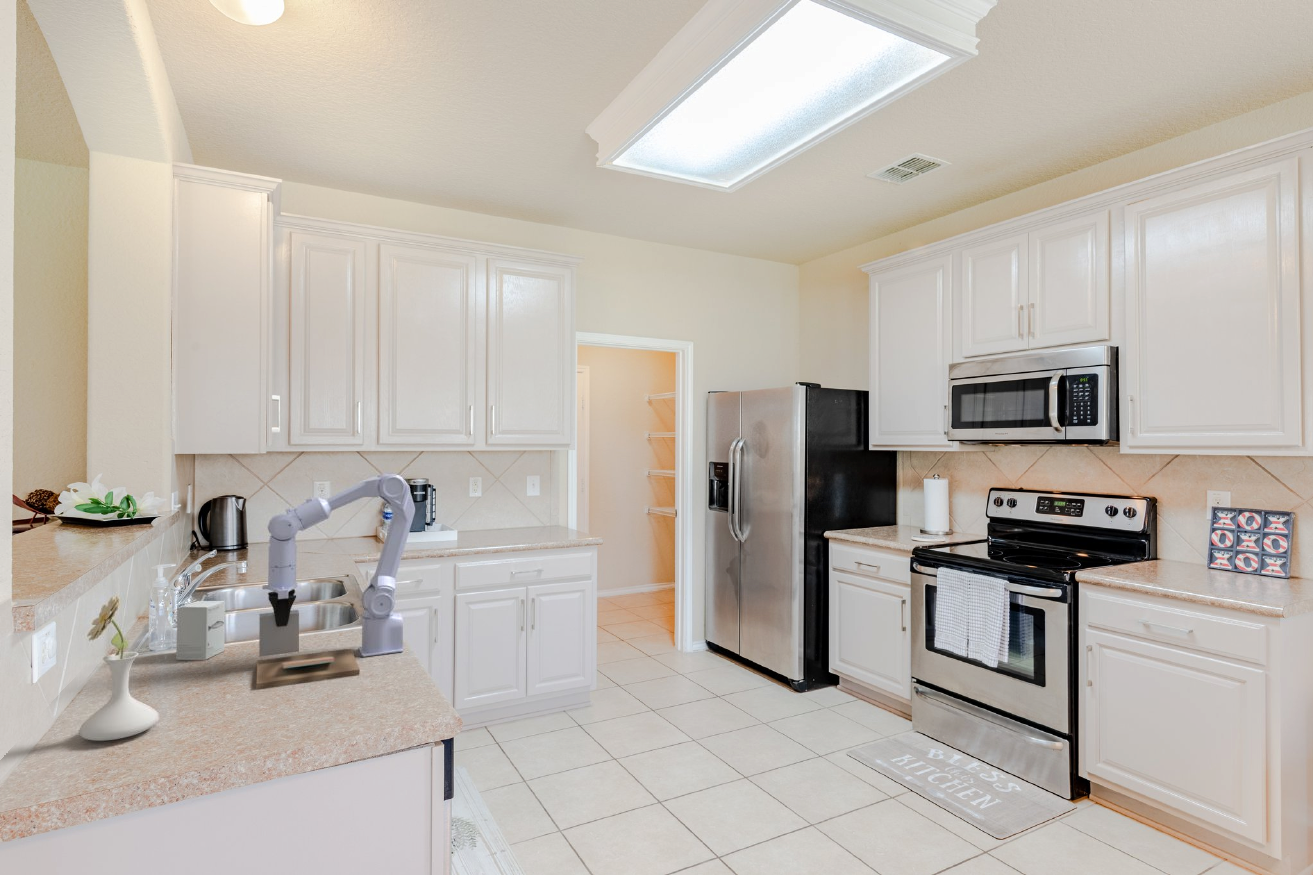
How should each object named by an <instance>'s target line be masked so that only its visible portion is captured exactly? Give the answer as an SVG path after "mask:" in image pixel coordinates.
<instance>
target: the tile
mask: <svg viewBox="0 0 1313 875" xmlns="http://www.w3.org/2000/svg"><path fill="white" fill-rule="evenodd" d="M329 662H334V658H333V657H323V658H316V659H308V660H300V661H293V662H285V663H283V669H284V668H292V667H299V666H307V665H314V664H322V663H329Z"/></svg>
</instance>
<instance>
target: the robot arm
mask: <svg viewBox="0 0 1313 875" xmlns="http://www.w3.org/2000/svg"><path fill="white" fill-rule="evenodd" d="M410 487H411V486H410V485H409V484H408V483H407V482H406V480H405V478H403V477H402V476H401V475H398V474H392V473H391V472H390V473H389V472H384V473H380V474H378V475H377V476H372V477H369V478H367V479H364V480H361V481H359V482H356V483H355V484H353V485H351V486H348V488H345V489H342V490H341V491H339V492H337V493H336V494H333V495H331V496H329V497H327V498H326V499H325V498H322V497H314V498H313V497H308V498H306V499H305V501H306V502H303V503H301V504H299V505H297V506H295V507H293V508H290V507H288V508H286V509H285V512H286V513H285V512H284V513H278V514H276V515H274V516H273V517H271V518H270V519H269V521H268V525H267V531H268V533H269V534H270V536H269V539H268V542H269V546H268V568H267V569H268V572H267V573H268V581H267V584H262V587H261V588H262V590H268V591H269V592H267V595H268V601H269V603H270V604H271V606H272V609H273V612H274V615H275V621H276V625H277V627H281V626H287V624H288V620H289V615H290V611H292V607H293V604H294V603H295V601H296V599H297V595H295V593H296V590H295V589H296V588H297V586H298V583H297V544H296V536H297V534H298V532H299V531H304V530H308V529H309V528H312V527H314V526H316V525H318V524H319V523H322V522H324V521H326V520H328V519H329V518H330V515H331V513H332V512H333V511H335V510H337V509H339V508H341V507H344V506H346V505H348V504H351V503H353V502H355V501H358V500H360V499H362V498H379V497H380V499H382V500H383V501H384V502H386V504H387V506H388V508H390V510H391V511H392V516H391V520H390V523H389V525H388V529H387V533H386V536H385V538H384V539H385V540H384V542H383V547H382V549H381V553H380V556H379V559H378V563H377V566H376V569H375V572H374V574H373V575H372V577H371V579H370V582H369V584H368V586H367V587H366V588H365V589H364V591H363V592H362V595H361V603H362V606H363V607H364V608H365V609H364V611H363V613H362V614H361V616H362V617H361V618H362V620H361V622H362V623H361V646H359V647H358V650H359V653H360V655H361V657H365V658H366V657H373V656H379V655H387V654H394V653H395V654H396V653H402V652H404V648H403V647H404V646H403V645H404V620H403V619H404V618H403V615H402V613H400V612H395V613H394V611H393V610H394V608H395V604H396V602H395V601H396V600H395V590H396V577H397V574H398V570H399V568H400V564H401V560H402V556H403V553H404V549H405V547H406V543H407V540H408V537H409V533H410V531H411V526H412V523H413V520H414V517H415V513H416V506H415V503H414V500H413V496H412V493H411V488H410Z"/></svg>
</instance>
